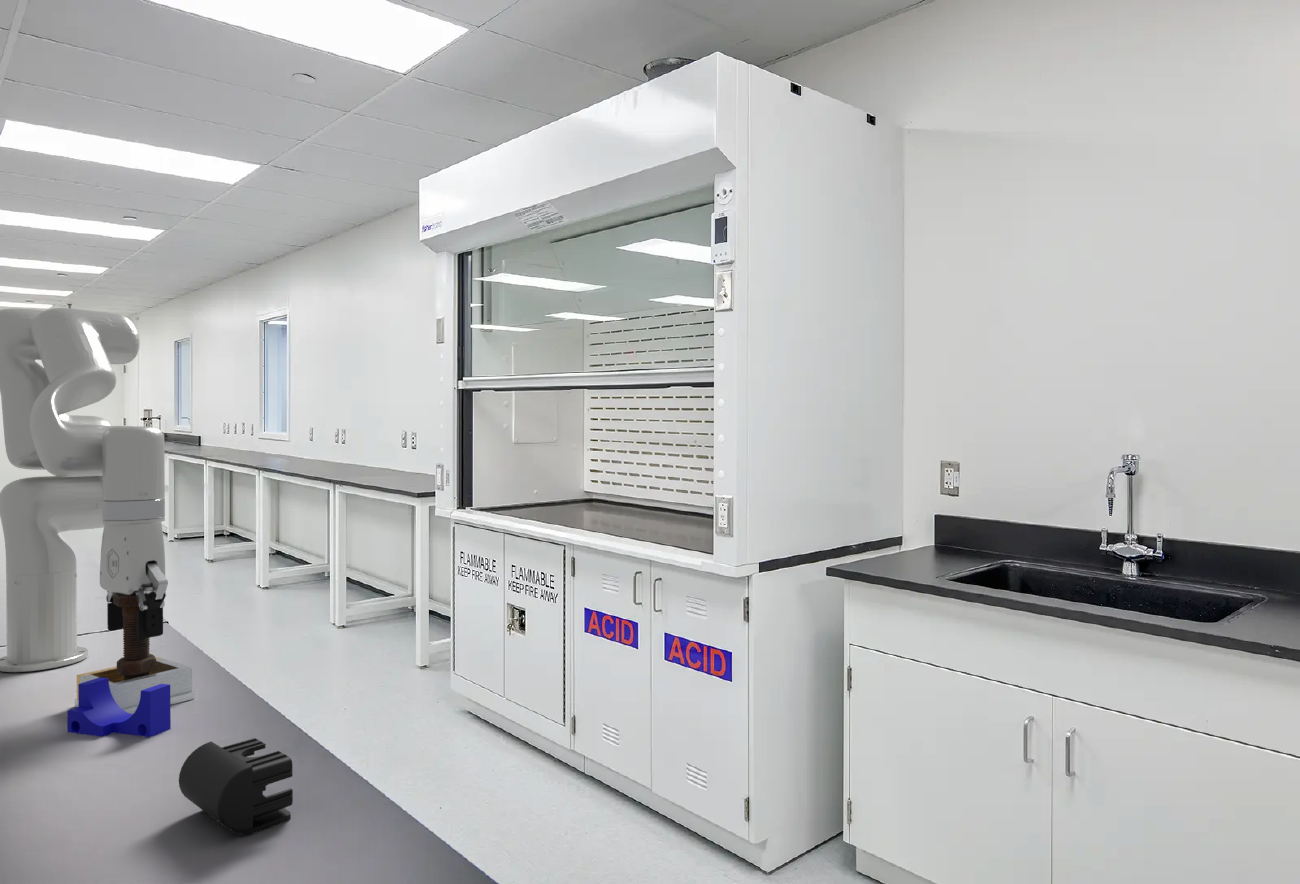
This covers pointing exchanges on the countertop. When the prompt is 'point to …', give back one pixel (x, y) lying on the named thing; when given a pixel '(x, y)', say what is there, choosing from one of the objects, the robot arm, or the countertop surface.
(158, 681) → the shallow open tray
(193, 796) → the end cap
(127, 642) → the bolt
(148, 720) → the cable clip
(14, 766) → the countertop surface
